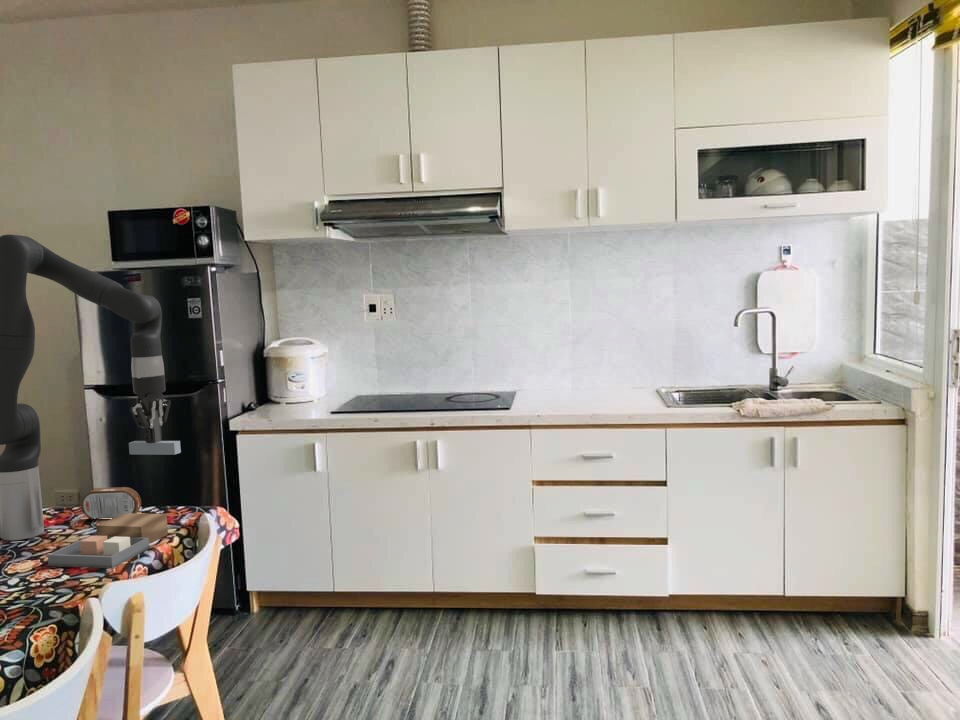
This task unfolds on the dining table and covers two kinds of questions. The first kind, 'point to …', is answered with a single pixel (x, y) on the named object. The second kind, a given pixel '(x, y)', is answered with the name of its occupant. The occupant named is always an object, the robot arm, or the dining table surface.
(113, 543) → the tile
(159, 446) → the grey t-shaped tool
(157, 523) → the tan slab
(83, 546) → the tile
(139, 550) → the box
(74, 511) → the dining table surface
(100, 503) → the tin
